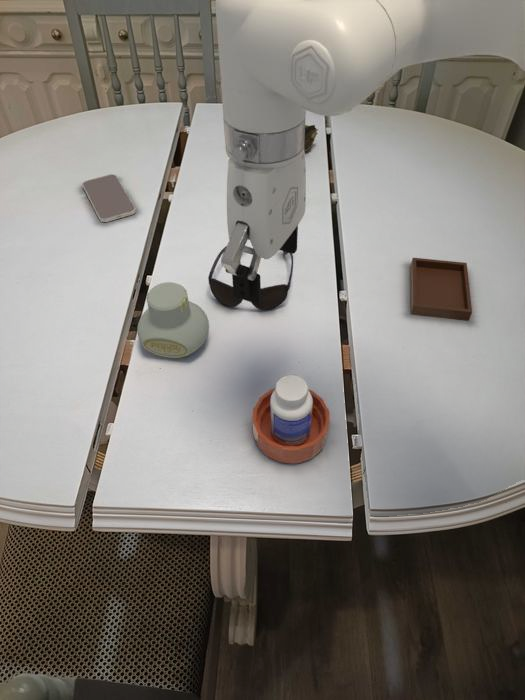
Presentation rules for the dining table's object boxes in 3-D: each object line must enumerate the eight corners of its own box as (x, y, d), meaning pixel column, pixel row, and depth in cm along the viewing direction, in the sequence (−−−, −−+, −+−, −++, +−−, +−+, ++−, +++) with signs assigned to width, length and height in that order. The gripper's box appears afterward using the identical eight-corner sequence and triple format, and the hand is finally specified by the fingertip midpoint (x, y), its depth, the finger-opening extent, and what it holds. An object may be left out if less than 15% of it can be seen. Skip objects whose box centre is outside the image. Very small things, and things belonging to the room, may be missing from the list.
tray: (468, 320, 86) (472, 311, 84) (410, 314, 87) (413, 305, 86) (463, 271, 94) (466, 262, 92) (410, 266, 95) (412, 257, 93)
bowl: (337, 417, 74) (340, 400, 71) (310, 476, 68) (312, 461, 65) (272, 393, 77) (272, 376, 74) (241, 448, 71) (239, 432, 68)
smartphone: (100, 220, 104) (80, 182, 112) (101, 224, 104) (82, 186, 113) (136, 209, 106) (114, 173, 114) (137, 213, 106) (115, 177, 115)
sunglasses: (206, 307, 89) (203, 285, 85) (224, 248, 99) (222, 226, 95) (287, 315, 87) (288, 292, 84) (296, 254, 97) (297, 231, 94)
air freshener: (134, 356, 82) (120, 310, 74) (151, 318, 87) (139, 271, 80) (203, 365, 81) (195, 319, 73) (215, 326, 86) (210, 279, 78)
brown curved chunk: (263, 171, 115) (258, 138, 111) (244, 162, 122) (238, 130, 118) (325, 148, 121) (322, 116, 116) (303, 141, 127) (300, 110, 123)
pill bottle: (317, 439, 71) (322, 397, 64) (279, 453, 70) (280, 411, 63) (300, 408, 75) (303, 364, 67) (264, 421, 73) (263, 377, 66)
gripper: (258, 190, 44) (262, 331, 57) (336, 103, 54) (324, 240, 67) (181, 169, 46) (201, 310, 59) (269, 90, 56) (270, 225, 69)
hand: (266, 273), depth 63 cm, fingers open, 9 cm apart
